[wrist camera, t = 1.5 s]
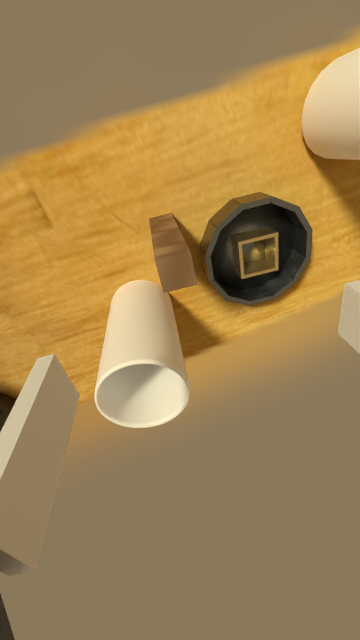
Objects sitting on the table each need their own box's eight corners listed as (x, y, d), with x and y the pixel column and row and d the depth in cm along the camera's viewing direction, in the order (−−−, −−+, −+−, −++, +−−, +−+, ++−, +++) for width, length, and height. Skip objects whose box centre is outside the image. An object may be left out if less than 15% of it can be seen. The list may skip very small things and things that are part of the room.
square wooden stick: (155, 240, 32) (163, 292, 20) (149, 218, 31) (155, 260, 19) (176, 235, 32) (197, 284, 20) (171, 213, 31) (190, 251, 19)
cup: (177, 324, 39) (197, 415, 25) (123, 338, 39) (114, 436, 25) (163, 272, 34) (178, 350, 21) (101, 288, 34) (77, 376, 21)
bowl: (208, 301, 37) (214, 314, 34) (192, 208, 31) (198, 214, 28) (295, 279, 37) (308, 290, 34) (298, 182, 31) (315, 185, 28)
